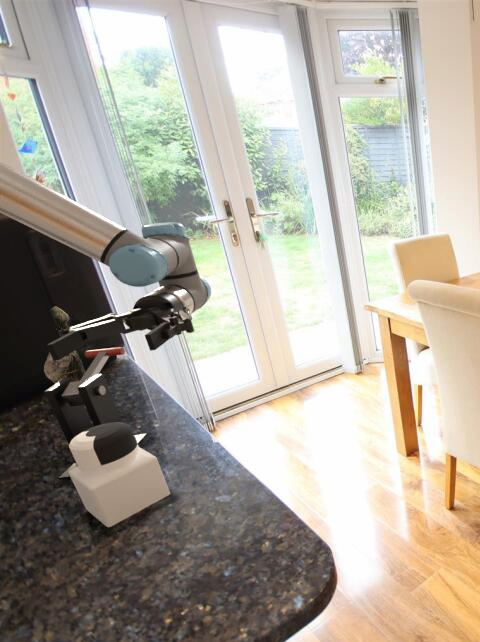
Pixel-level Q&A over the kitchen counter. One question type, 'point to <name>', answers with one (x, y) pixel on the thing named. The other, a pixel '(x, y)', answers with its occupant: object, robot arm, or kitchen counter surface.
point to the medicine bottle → (115, 473)
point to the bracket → (77, 417)
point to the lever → (89, 373)
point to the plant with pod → (69, 363)
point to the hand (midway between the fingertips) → (102, 347)
